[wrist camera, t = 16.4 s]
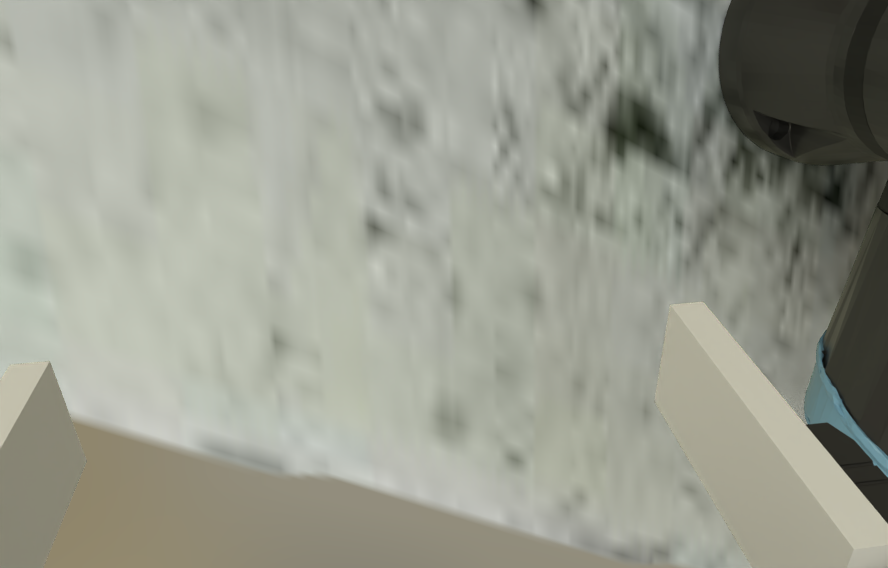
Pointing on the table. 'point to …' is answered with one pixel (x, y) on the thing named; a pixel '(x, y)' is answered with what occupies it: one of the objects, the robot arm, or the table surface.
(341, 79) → the table surface
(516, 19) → the table surface
